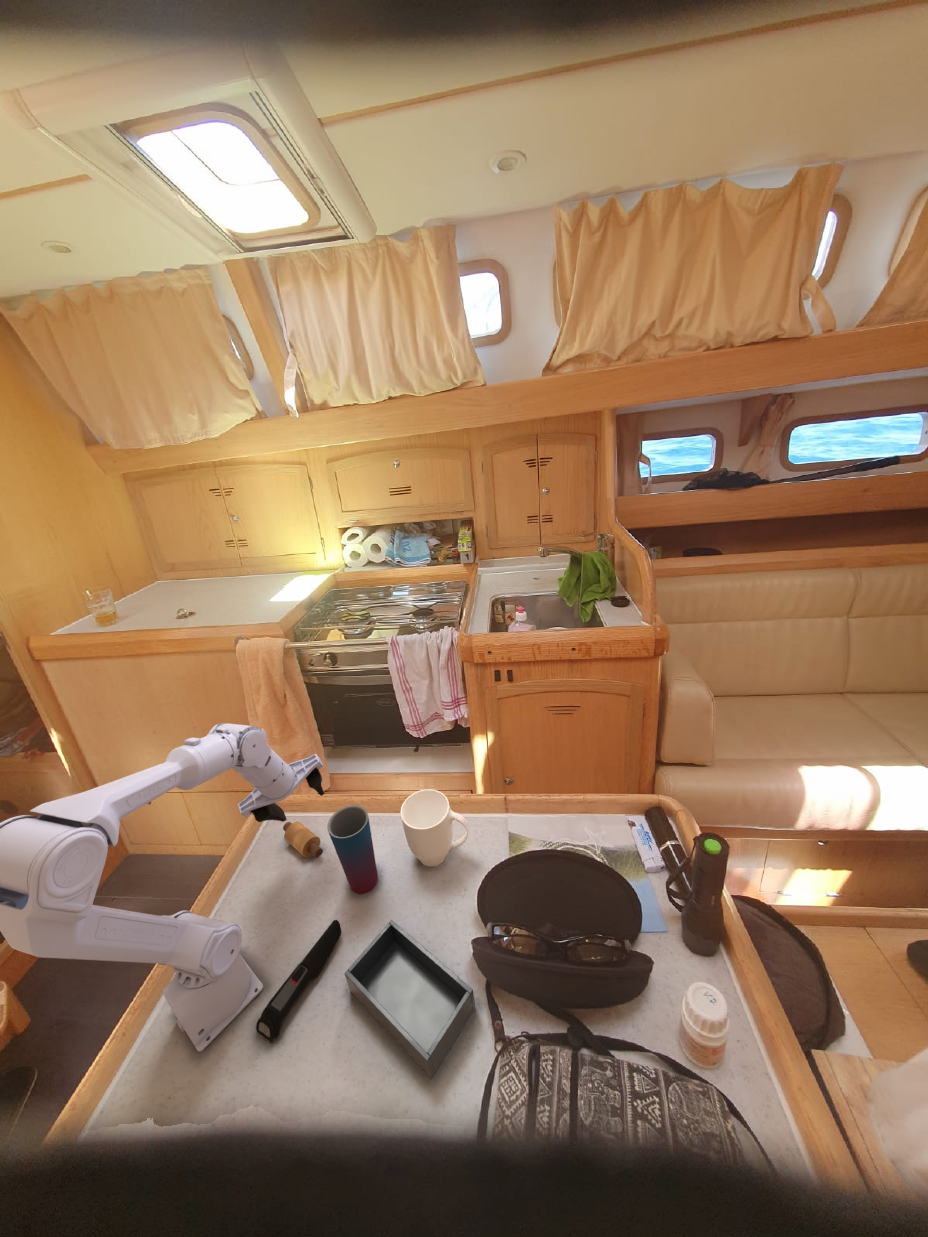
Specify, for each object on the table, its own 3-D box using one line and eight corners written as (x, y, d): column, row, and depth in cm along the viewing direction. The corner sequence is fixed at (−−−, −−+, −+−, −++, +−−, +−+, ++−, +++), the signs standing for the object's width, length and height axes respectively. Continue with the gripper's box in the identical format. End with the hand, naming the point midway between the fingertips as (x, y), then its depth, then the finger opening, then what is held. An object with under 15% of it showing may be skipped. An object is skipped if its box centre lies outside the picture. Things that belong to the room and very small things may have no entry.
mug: (405, 875, 82) (395, 827, 77) (414, 834, 90) (406, 789, 85) (468, 877, 80) (462, 829, 75) (472, 835, 88) (467, 789, 83)
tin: (431, 1080, 56) (427, 1061, 54) (350, 991, 66) (344, 973, 64) (475, 1008, 62) (473, 989, 60) (395, 937, 72) (391, 919, 70)
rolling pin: (312, 868, 85) (307, 853, 83) (280, 839, 92) (275, 825, 90) (329, 852, 88) (325, 838, 86) (297, 826, 94) (293, 812, 93)
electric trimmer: (349, 936, 73) (346, 924, 72) (274, 1046, 60) (267, 1033, 59) (332, 927, 75) (328, 914, 73) (255, 1031, 62) (248, 1018, 61)
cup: (375, 857, 86) (360, 799, 80) (388, 885, 80) (374, 824, 74) (340, 876, 83) (322, 817, 77) (351, 907, 77) (333, 845, 71)
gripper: (299, 729, 78) (330, 764, 88) (219, 779, 74) (260, 810, 84) (312, 758, 74) (343, 792, 83) (227, 813, 70) (270, 842, 79)
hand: (302, 803), depth 83 cm, fingers open, 7 cm apart
